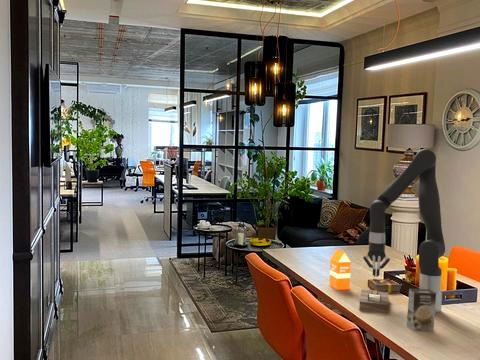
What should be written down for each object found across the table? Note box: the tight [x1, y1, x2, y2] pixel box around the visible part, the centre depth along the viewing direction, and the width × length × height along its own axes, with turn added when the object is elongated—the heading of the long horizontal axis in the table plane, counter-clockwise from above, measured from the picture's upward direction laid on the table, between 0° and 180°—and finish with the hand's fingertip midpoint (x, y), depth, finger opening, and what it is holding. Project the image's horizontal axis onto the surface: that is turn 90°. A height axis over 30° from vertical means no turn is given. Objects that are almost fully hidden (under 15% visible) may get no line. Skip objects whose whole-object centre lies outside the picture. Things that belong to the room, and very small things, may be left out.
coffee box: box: [406, 288, 436, 332], centre depth 198 cm, size 9×6×16 cm
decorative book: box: [367, 278, 403, 294], centre depth 252 cm, size 11×16×5 cm
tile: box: [369, 294, 380, 302], centre depth 225 cm, size 10×5×2 cm, turn 163°
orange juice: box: [329, 248, 352, 291], centre depth 254 cm, size 8×9×20 cm
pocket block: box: [358, 289, 390, 314], centre depth 227 cm, size 20×13×4 cm, turn 163°
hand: (375, 276), depth 231 cm, fingers closed
